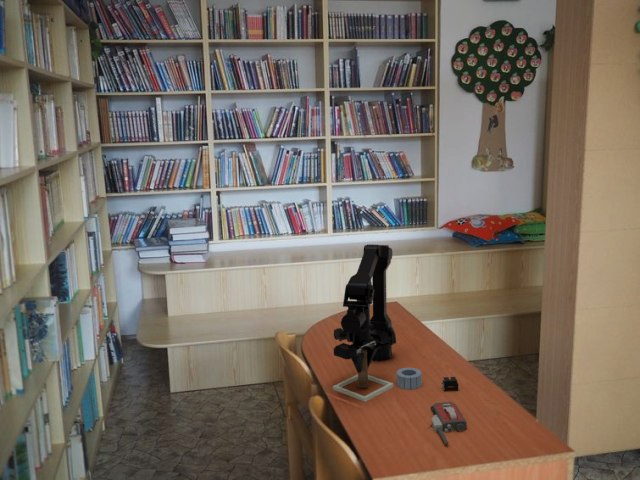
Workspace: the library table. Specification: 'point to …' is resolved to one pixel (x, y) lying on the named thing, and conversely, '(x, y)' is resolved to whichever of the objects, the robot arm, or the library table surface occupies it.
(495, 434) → the library table surface
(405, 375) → the ring
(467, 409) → the library table surface
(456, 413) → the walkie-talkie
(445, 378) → the black angular piece
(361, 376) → the dowel
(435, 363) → the library table surface
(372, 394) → the tray
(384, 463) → the library table surface
